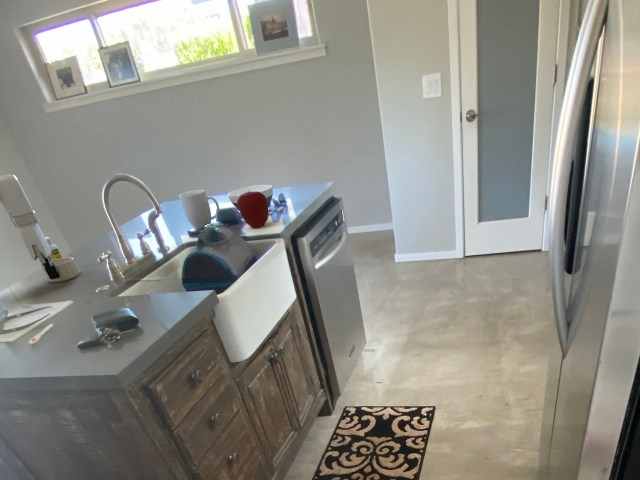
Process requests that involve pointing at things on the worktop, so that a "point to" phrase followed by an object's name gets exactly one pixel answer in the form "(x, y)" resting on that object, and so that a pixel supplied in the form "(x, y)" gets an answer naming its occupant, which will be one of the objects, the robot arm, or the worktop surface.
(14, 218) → the robot arm
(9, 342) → the worktop surface
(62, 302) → the worktop surface
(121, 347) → the worktop surface
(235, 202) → the bowl
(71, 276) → the small bowl
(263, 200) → the apple
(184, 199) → the mug
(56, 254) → the pill bottle
